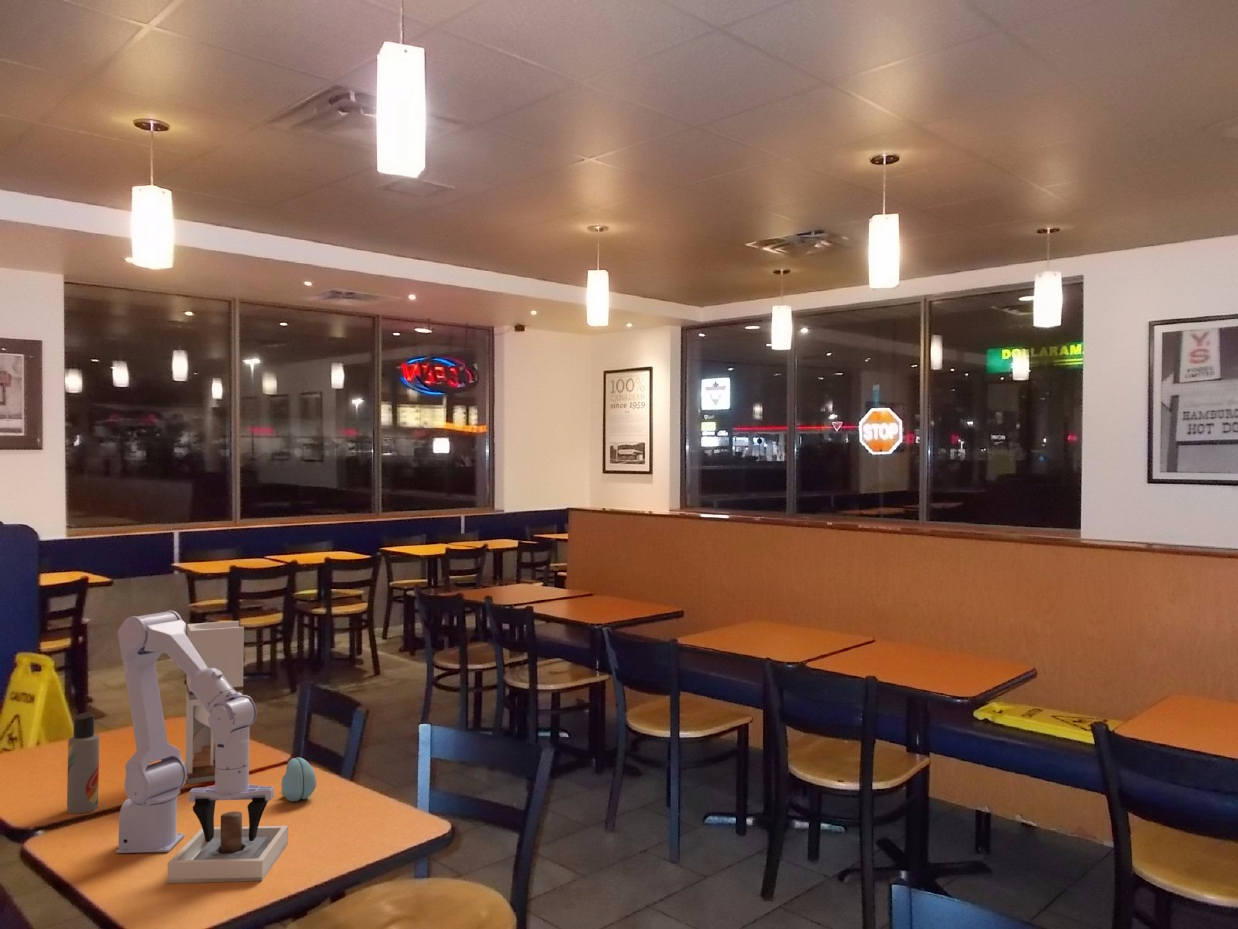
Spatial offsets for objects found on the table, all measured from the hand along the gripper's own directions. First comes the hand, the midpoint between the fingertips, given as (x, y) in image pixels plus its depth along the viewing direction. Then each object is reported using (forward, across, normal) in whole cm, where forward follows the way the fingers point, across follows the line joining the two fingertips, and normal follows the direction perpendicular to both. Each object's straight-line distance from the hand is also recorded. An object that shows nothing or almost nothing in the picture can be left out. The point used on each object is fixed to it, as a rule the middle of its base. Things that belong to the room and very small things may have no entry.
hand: (231, 839), depth 167 cm
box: (+4, 0, 0) cm, 4 cm away
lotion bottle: (+4, -40, +29) cm, 50 cm away
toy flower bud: (+4, +2, +34) cm, 35 cm away
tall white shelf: (+4, -21, +51) cm, 55 cm away
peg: (+4, 0, 0) cm, 4 cm away
